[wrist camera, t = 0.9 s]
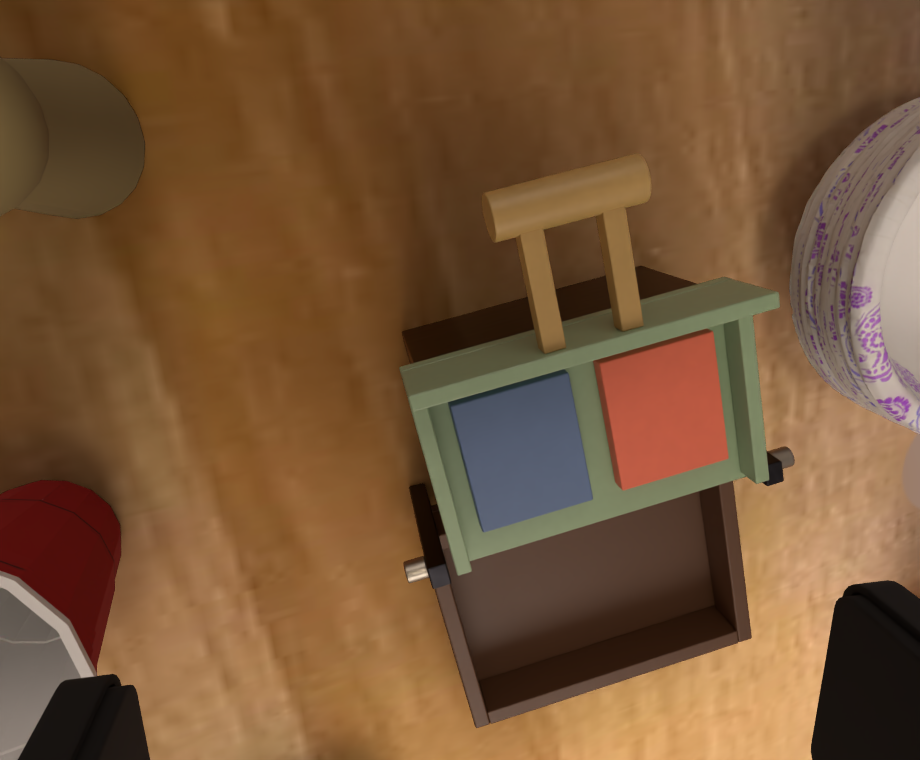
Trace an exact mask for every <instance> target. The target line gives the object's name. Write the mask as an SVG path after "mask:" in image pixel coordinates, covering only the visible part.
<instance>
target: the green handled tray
mask: <svg viewBox="0 0 920 760" xmlns="http://www.w3.org/2000/svg"><path fill="white" fill-rule="evenodd" d="M650 195H651V176H650V172H649V168H648V165H647V163H646V161H645V159H644V158H643V157H642V156H641V155H640V154H637V153H635V154H631V155H627V156H623V157H620V158H616V159H612V160H608V161H604V162H600V163H596V164H592V165H589V166H585V167H581V168H577V169H573V170H569V171H565V172H562V173H558V174H554V175H550V176H546V177H542V178H538V179H535V180H531V181H527V182H523V183H519V184H515V185H511V186H508V187H504V188H500V189H496V190H492V191H488V192H484V193H483V194H482V199H481V201H482V210H483V215H484V220H485V224H486V227H487V230H488V233H489V235H490V237H491V239H492V241H493V242H500V241H504V240H507V239H511V238H515V239H516V244H517V248H518V253H519V258H520V263H521V268H522V272H523V277H524V282H525V287H526V291H527V296H528V301H529V306H530V311H531V315H532V320H533V325H534V330H531V331H527V332H524V333H520V334H517V335H513V336H509V337H506V338H502V339H499V340H495V341H491V342H488V343H484V344H481V345H477V346H473V347H470V348H466V349H463V350H459V351H455V352H452V353H448V354H445V355H441V356H438V357H434V358H430V359H427V360H423V361H420V362H416V363H412V364H409V365H405V366H402V367H399V369H400V373H401V376H402V380H403V384H404V387H405V391H406V394H407V398H408V401H409V405H410V409H411V412H412V416H413V419H414V423H415V426H416V430H417V434H418V437H419V441H420V444H421V448H422V451H423V455H424V459H425V462H426V466H427V469H428V473H429V476H430V480H431V483H432V487H433V491H434V494H435V498H436V501H437V505H438V508H439V512H440V516H441V519H442V523H443V526H444V530H445V533H446V537H447V541H448V544H449V548H450V551H451V555H452V558H453V562H454V565H455V568H456V572H457V575H462V574H466V573H469V572H471V571H472V568H471V564H470V561H472V560H475V559H479V558H482V557H485V556H488V555H492V554H495V553H498V552H502V551H505V550H508V549H511V548H515V547H518V546H521V545H524V544H528V543H531V542H534V541H537V540H541V539H544V538H547V537H551V536H554V535H557V534H560V533H564V532H567V531H570V530H573V529H577V528H580V527H583V526H587V525H590V524H593V523H596V522H600V521H603V520H606V519H609V518H613V517H616V516H619V515H622V514H626V513H629V512H632V511H636V510H639V509H642V508H645V507H649V506H652V505H655V504H658V503H662V502H665V501H668V500H671V499H675V498H678V497H681V496H685V495H688V494H691V493H694V492H698V491H701V490H704V489H707V488H711V487H714V486H717V485H721V484H724V483H727V482H730V481H734V480H737V479H740V478H743V477H748V478H749V479H751V480H752V481H753V482H755V483H756V484H758V483H762V482H765V481H768V480H769V471H768V462H767V452H766V442H765V432H764V422H763V412H762V403H761V393H760V383H759V373H758V363H757V353H756V344H755V334H754V324H753V315H756V314H759V313H763V312H766V311H770V310H773V309H777V308H779V307H780V302H779V293H778V292H777V291H773V290H769V289H766V288H762V287H759V286H755V285H751V284H748V283H744V282H741V281H737V280H733V279H731V278H727V277H721V278H718V279H714V280H710V281H707V282H703V283H700V284H696V285H692V286H689V287H685V288H682V289H678V290H674V291H671V292H667V293H664V294H660V295H657V296H653V297H649V298H646V299H642V300H640V297H639V291H638V284H637V278H636V272H635V265H634V259H633V252H632V246H631V239H630V233H629V227H628V220H627V214H626V208H628V207H631V206H635V205H639V204H643V203H646V202H647V201H648V200H649V198H650ZM594 216H596V221H597V227H598V233H599V239H600V245H601V250H602V256H603V262H604V268H605V274H606V280H607V286H608V292H609V298H610V304H611V308H610V309H606V310H603V311H599V312H595V313H592V314H588V315H585V316H581V317H578V318H574V319H570V320H567V321H563V322H561V317H560V312H559V307H558V301H557V296H556V291H555V286H554V281H553V276H552V271H551V266H550V260H549V255H548V250H547V245H546V240H545V235H544V230H545V229H549V228H553V227H556V226H560V225H564V224H568V223H571V222H575V221H579V220H583V219H586V218H590V217H594ZM706 328H707V329H709V330H712V331H713V333H714V341H715V349H716V357H717V366H718V374H719V382H720V390H721V398H722V407H723V415H724V423H725V431H726V439H727V448H728V456H729V458H728V459H726V460H723V461H719V462H716V463H713V464H710V465H706V466H703V467H700V468H696V469H693V470H690V471H686V472H683V473H680V474H677V475H673V476H670V477H667V478H663V479H660V480H657V481H653V482H650V483H647V484H644V485H640V486H637V487H634V488H630V489H627V490H622V489H621V488H620V487H619V486H618V485H617V484H616V482H615V478H614V472H613V467H612V461H611V456H610V450H609V445H608V439H607V434H606V428H605V423H604V418H603V412H602V407H601V401H600V396H599V390H598V385H597V379H596V374H595V368H594V363H593V361H594V360H598V359H601V358H605V357H608V356H612V355H615V354H619V353H622V352H626V351H629V350H633V349H636V348H640V347H643V346H647V345H650V344H654V343H657V342H661V341H664V340H668V339H671V338H675V337H678V336H682V335H685V334H689V333H692V332H696V331H699V330H703V329H706ZM562 369H565V370H566V371H567V372H568V373H569V377H570V383H571V388H572V393H573V398H574V403H575V408H576V413H577V418H578V423H579V428H580V433H581V439H582V444H583V449H584V454H585V459H586V464H587V469H588V474H589V479H590V484H591V489H592V495H593V500H590V501H587V502H584V503H580V504H577V505H574V506H571V507H567V508H564V509H561V510H557V511H554V512H551V513H547V514H544V515H541V516H537V517H534V518H531V519H528V520H524V521H521V522H518V523H514V524H511V525H508V526H504V527H501V528H498V529H495V530H491V531H488V532H483V531H482V529H481V527H480V524H479V521H478V517H477V513H476V509H475V505H474V501H473V498H472V494H471V490H470V486H469V482H468V478H467V475H466V471H465V467H464V463H463V459H462V455H461V452H460V448H459V444H458V440H457V436H456V432H455V429H454V425H453V421H452V417H451V413H450V409H449V405H448V402H450V401H454V400H457V399H461V398H464V397H468V396H471V395H475V394H478V393H482V392H485V391H489V390H492V389H496V388H499V387H503V386H506V385H510V384H513V383H517V382H520V381H524V380H527V379H531V378H534V377H538V376H541V375H545V374H548V373H552V372H555V371H559V370H562Z"/></svg>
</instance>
